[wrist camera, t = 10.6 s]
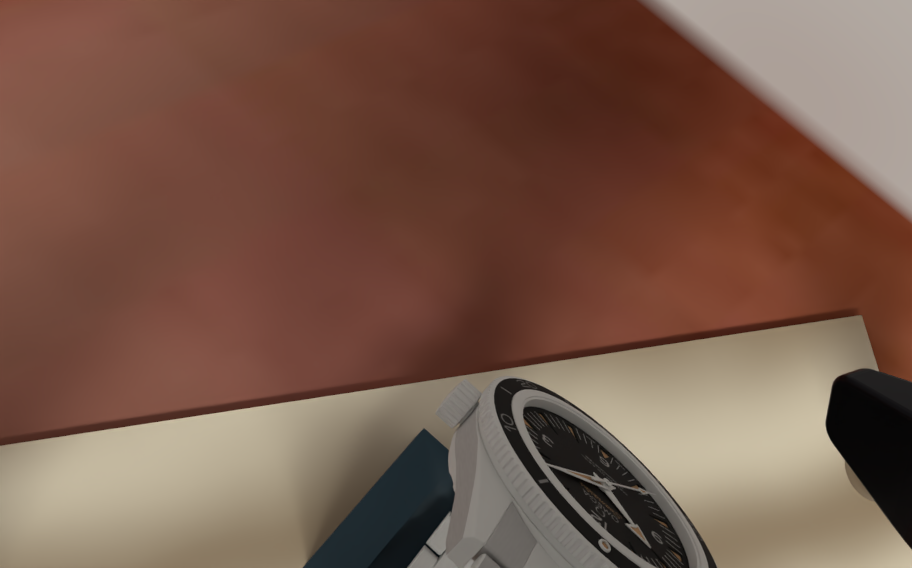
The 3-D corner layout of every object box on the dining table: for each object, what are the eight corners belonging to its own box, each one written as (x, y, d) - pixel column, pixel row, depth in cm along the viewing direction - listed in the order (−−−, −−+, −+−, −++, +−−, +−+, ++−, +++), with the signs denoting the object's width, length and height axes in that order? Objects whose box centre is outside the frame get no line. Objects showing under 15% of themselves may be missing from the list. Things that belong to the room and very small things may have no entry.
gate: (936, 618, 21) (1381, 723, 12) (-120, 858, 17) (-714, 1315, 8) (845, 320, 24) (1161, 211, 14) (-111, 466, 19) (-566, 448, 10)
